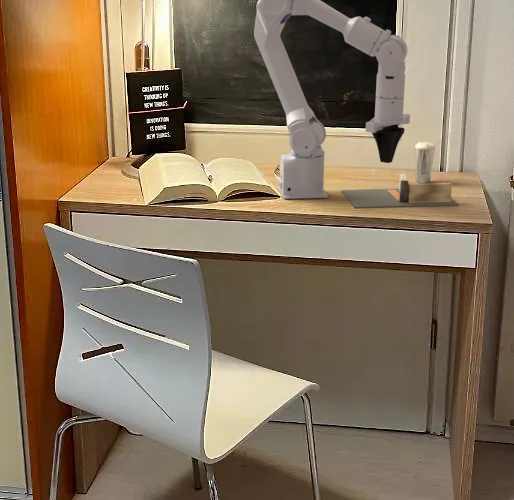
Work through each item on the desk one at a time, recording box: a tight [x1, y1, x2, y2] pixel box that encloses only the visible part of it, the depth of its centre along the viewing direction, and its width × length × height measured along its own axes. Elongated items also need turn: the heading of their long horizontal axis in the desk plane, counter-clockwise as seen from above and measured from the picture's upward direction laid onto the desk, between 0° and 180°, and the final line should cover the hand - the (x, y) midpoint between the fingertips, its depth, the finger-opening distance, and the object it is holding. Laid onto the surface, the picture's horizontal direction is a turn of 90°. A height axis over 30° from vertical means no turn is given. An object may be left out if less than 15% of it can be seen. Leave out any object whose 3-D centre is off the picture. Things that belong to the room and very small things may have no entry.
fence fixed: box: [400, 179, 453, 203], centre depth 188 cm, size 11×2×4 cm, turn 97°
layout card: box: [340, 188, 460, 209], centre depth 192 cm, size 22×14×1 cm, turn 97°
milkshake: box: [414, 141, 439, 183], centre depth 205 cm, size 5×5×10 cm
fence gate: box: [398, 173, 408, 190], centre depth 193 cm, size 9×1×3 cm, turn 173°
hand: (386, 162), depth 189 cm, fingers closed
